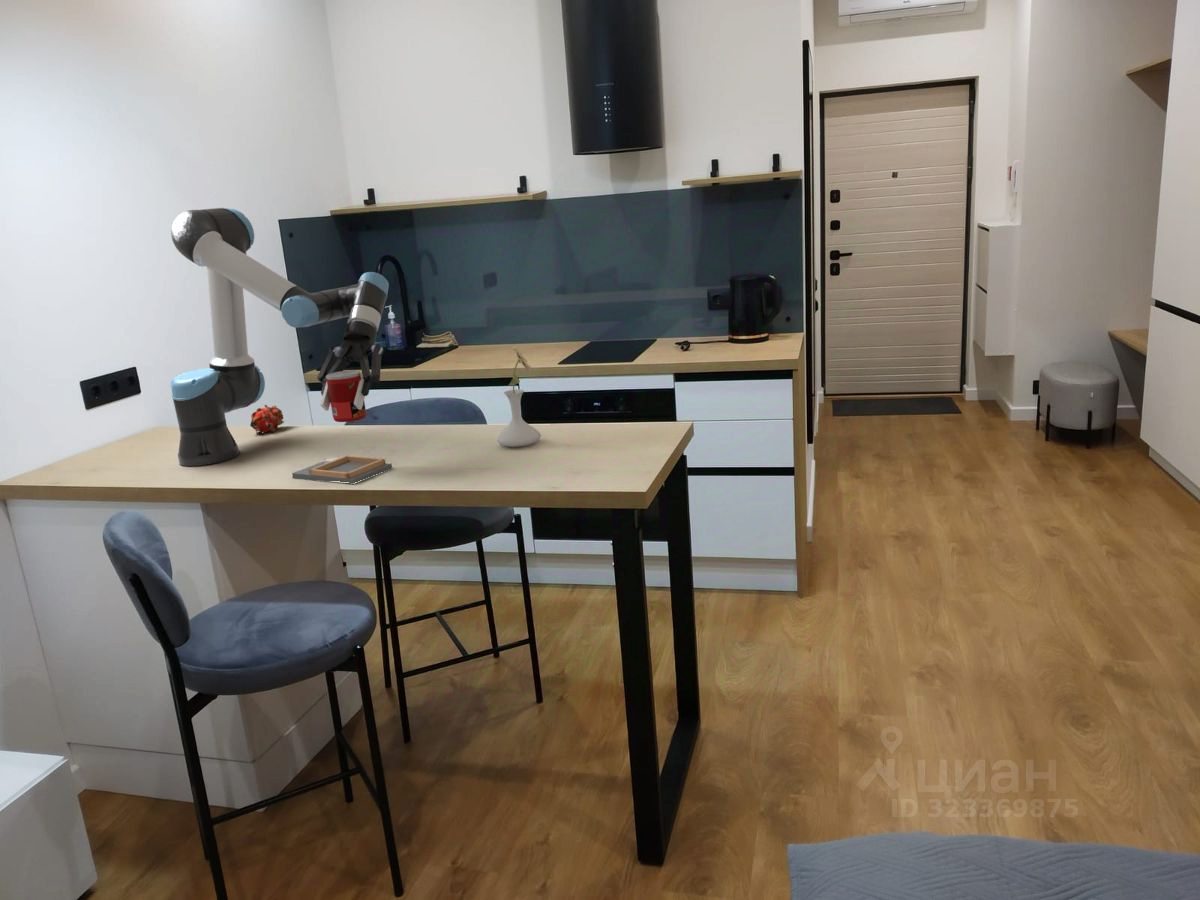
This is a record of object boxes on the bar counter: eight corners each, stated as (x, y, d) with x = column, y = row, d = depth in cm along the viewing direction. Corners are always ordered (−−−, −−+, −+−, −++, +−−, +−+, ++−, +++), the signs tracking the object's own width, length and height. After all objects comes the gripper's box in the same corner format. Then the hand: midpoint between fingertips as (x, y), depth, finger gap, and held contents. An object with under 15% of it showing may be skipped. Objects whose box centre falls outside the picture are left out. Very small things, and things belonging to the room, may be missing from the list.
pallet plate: (292, 477, 224) (291, 468, 223) (332, 462, 235) (330, 453, 234) (353, 484, 214) (352, 474, 213) (392, 468, 225) (390, 459, 224)
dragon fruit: (288, 431, 282) (259, 447, 273) (267, 415, 284) (237, 430, 274) (294, 410, 277) (264, 426, 268) (273, 394, 279) (242, 409, 269)
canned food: (358, 421, 219) (351, 376, 216) (327, 423, 220) (320, 377, 217) (372, 414, 226) (365, 369, 223) (341, 415, 228) (334, 371, 225)
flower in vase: (531, 450, 230) (521, 350, 224) (489, 450, 234) (478, 352, 228) (550, 437, 242) (541, 341, 236) (510, 436, 246) (500, 343, 239)
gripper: (406, 335, 231) (387, 414, 220) (331, 339, 235) (308, 416, 225) (394, 317, 224) (374, 397, 213) (317, 321, 229) (293, 399, 218)
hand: (340, 406), depth 219 cm, fingers closed on canned food, 8 cm apart
